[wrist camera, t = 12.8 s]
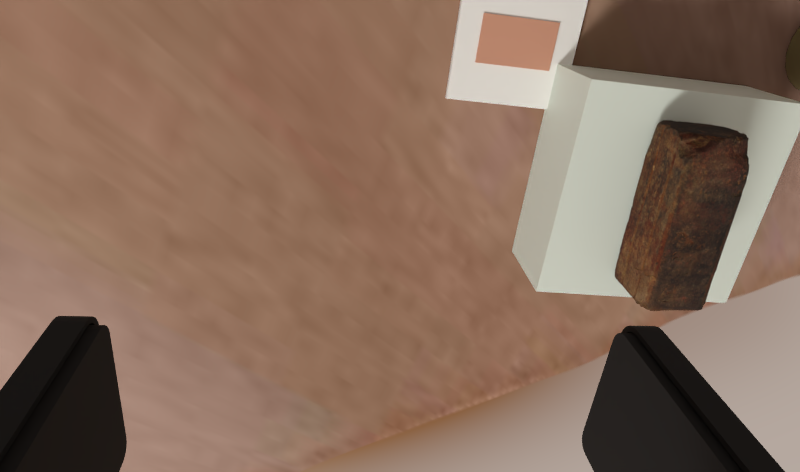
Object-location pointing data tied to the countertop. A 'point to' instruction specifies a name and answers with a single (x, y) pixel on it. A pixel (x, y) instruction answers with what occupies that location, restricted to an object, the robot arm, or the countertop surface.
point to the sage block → (633, 170)
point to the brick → (682, 214)
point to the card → (512, 49)
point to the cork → (794, 60)
